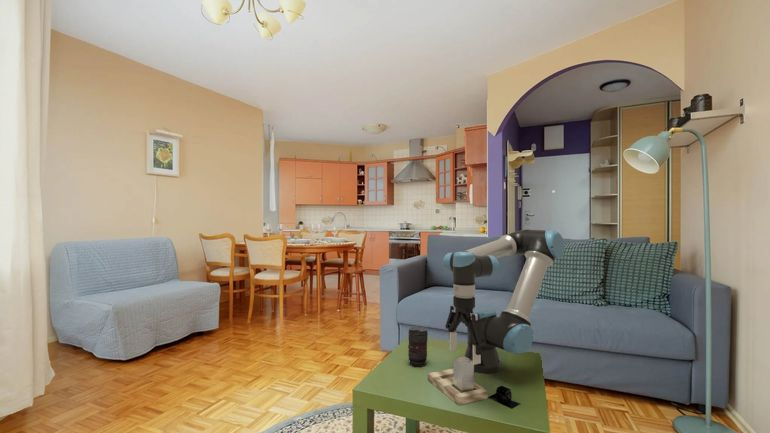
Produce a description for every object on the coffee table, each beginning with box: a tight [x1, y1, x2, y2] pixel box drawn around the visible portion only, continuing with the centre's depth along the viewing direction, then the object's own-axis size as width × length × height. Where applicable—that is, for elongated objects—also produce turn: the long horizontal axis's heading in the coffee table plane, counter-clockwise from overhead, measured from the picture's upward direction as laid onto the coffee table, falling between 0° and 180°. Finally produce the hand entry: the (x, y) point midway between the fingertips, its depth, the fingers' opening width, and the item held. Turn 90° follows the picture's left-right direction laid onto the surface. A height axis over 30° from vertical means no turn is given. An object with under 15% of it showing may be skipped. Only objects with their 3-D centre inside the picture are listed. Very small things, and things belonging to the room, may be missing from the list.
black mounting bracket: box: [487, 385, 521, 410], centre depth 119 cm, size 12×7×5 cm, turn 38°
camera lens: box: [407, 325, 429, 368], centre depth 149 cm, size 8×8×15 cm
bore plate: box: [427, 368, 489, 406], centre depth 127 cm, size 12×20×2 cm, turn 23°
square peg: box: [452, 356, 475, 393], centre depth 122 cm, size 5×5×12 cm
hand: (464, 356), depth 123 cm, fingers open, 13 cm apart
